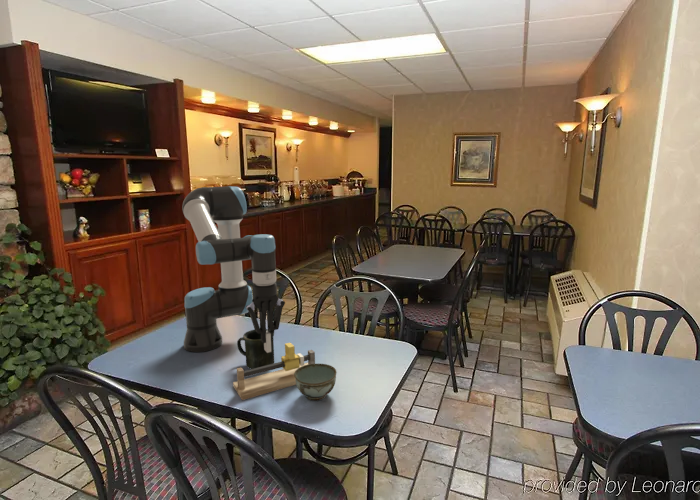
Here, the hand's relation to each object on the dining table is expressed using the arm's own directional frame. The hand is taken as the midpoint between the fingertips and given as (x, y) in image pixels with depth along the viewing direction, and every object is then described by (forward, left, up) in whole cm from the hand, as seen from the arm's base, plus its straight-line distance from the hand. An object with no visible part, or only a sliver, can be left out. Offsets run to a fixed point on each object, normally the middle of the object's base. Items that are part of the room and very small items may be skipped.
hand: (267, 350), depth 140 cm
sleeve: (+1, +8, -8) cm, 11 cm away
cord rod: (+1, +3, -7) cm, 7 cm away
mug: (-16, +1, -12) cm, 20 cm away
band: (+1, +11, -8) cm, 14 cm away
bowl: (+16, +10, -12) cm, 22 cm away
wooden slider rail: (+1, +3, -12) cm, 12 cm away
